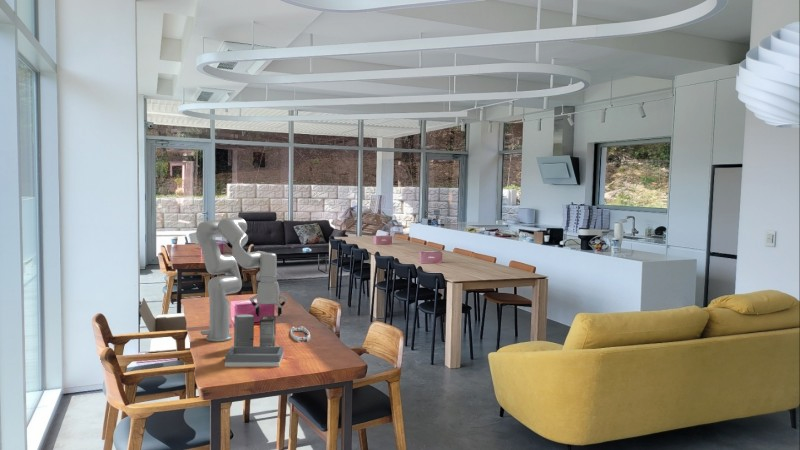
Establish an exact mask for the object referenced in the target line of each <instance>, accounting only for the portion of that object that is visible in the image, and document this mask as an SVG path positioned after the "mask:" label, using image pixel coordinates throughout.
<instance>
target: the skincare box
mask: <svg viewBox="0 0 800 450" xmlns="http://www.w3.org/2000/svg"><path fill="white" fill-rule="evenodd" d="M233 325H234V327H233V330H234V331H233V335H234V336H233V346H254V338H255V337H254V336H255V335H254V331H255V316H254V315H253V314H252V313H250V314H248V313H247V314H245V313H244V314H243V313H242V314H234V324H233Z"/></svg>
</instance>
